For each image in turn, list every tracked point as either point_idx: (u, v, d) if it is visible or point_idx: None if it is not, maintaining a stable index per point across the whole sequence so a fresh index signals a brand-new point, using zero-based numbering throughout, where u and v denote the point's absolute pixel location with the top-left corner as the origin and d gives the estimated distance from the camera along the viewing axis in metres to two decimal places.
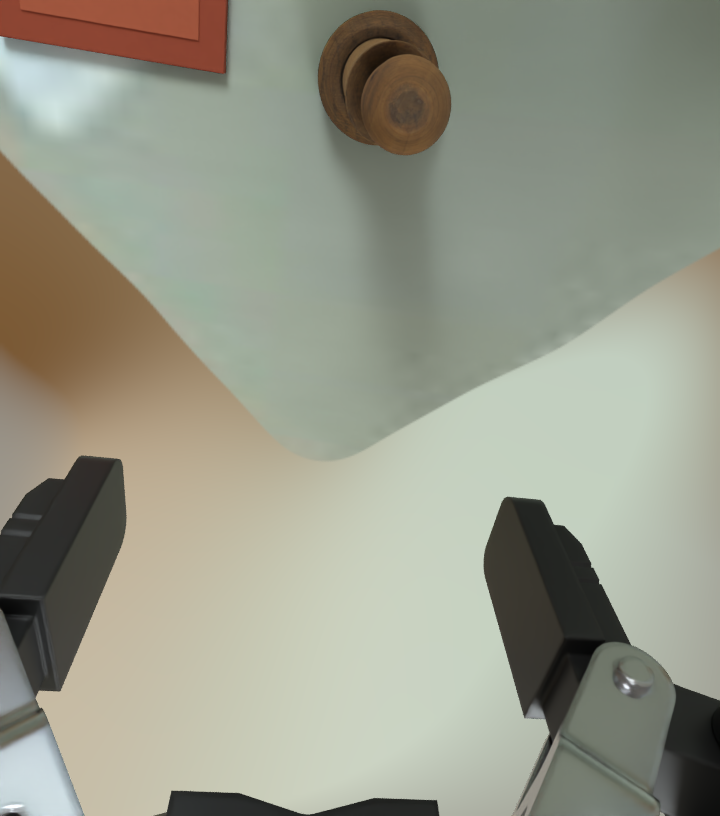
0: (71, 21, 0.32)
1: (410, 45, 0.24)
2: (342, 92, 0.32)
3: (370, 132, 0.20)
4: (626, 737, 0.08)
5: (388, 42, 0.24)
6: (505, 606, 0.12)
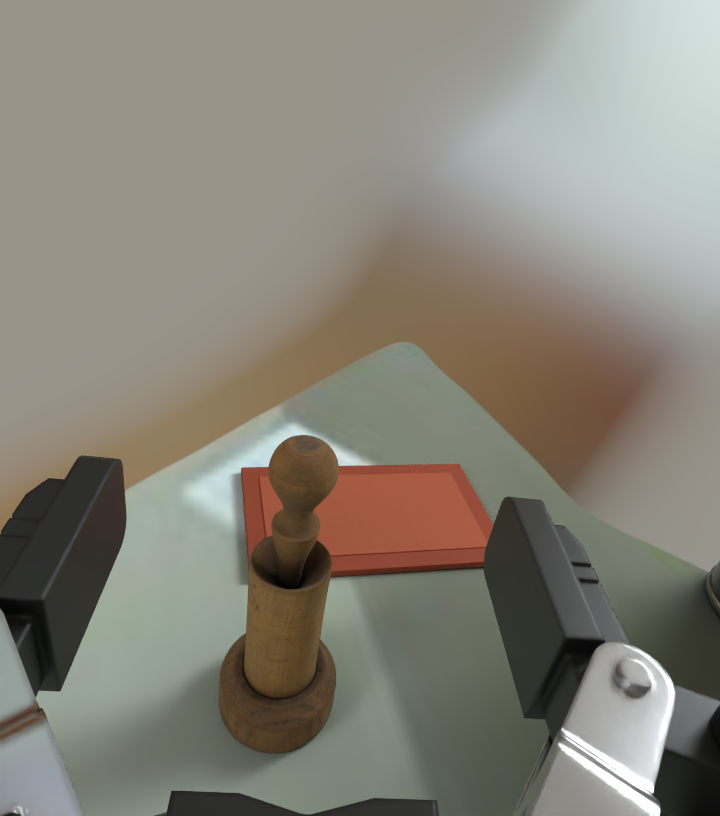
0: (259, 497, 0.48)
1: (331, 563, 0.29)
2: None
3: None
4: (626, 737, 0.08)
5: (326, 550, 0.30)
6: (505, 606, 0.12)
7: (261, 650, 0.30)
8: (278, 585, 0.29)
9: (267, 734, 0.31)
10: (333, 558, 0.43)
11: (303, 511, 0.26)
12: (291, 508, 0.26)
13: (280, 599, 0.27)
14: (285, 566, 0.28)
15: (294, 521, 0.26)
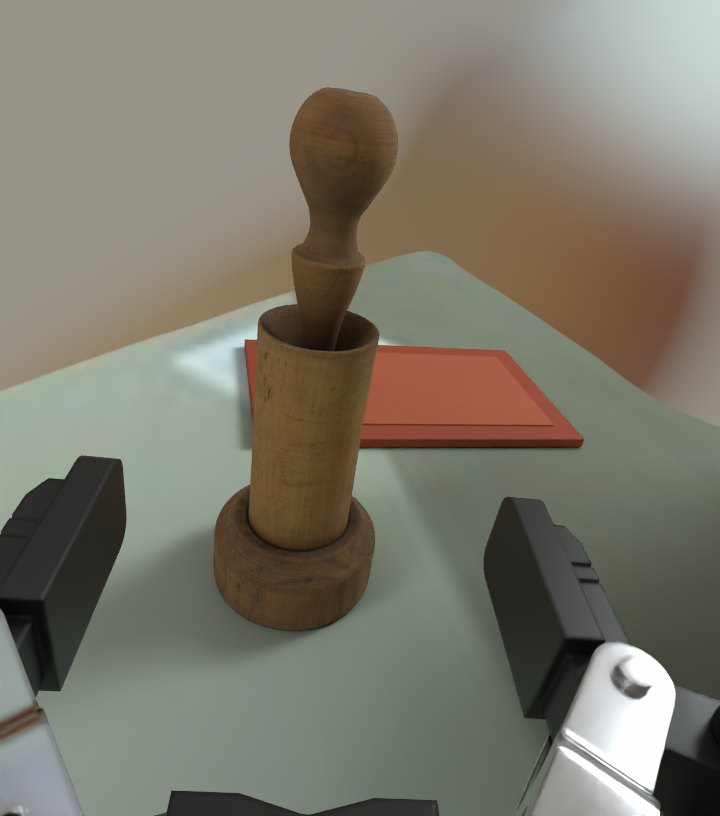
0: None
1: (377, 333, 0.20)
2: None
3: None
4: (627, 738, 0.08)
5: (370, 322, 0.20)
6: (505, 606, 0.12)
7: (273, 469, 0.21)
8: None
9: (282, 597, 0.21)
10: None
11: (343, 210, 0.17)
12: (324, 204, 0.17)
13: (304, 367, 0.18)
14: (311, 328, 0.19)
15: (327, 237, 0.17)
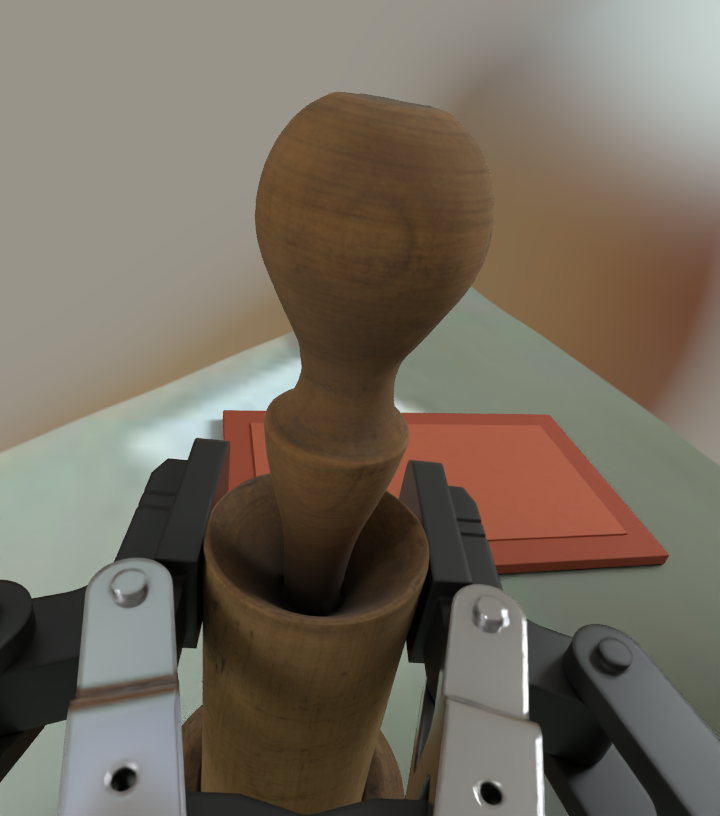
0: (250, 453, 0.30)
1: (426, 545, 0.11)
2: None
3: None
4: (497, 673, 0.09)
5: (409, 512, 0.11)
6: None
7: (234, 771, 0.11)
8: (282, 602, 0.11)
9: None
10: None
11: (373, 359, 0.08)
12: (330, 345, 0.08)
13: (288, 646, 0.09)
14: (303, 550, 0.10)
15: (337, 402, 0.08)
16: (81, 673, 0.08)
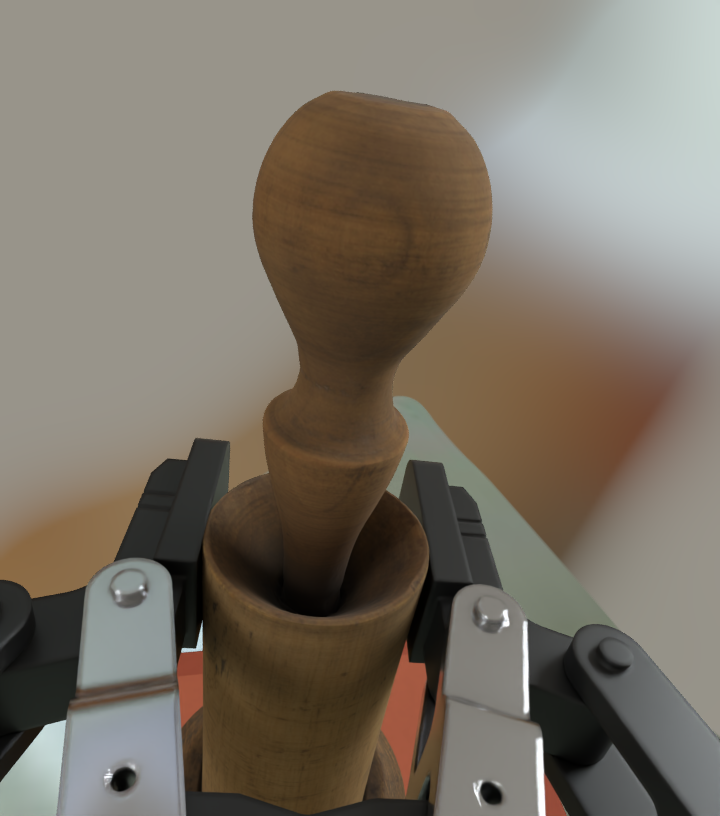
0: None
1: (425, 545, 0.11)
2: None
3: None
4: (498, 673, 0.09)
5: (409, 512, 0.11)
6: None
7: (235, 772, 0.11)
8: (282, 603, 0.11)
9: None
10: None
11: (370, 358, 0.08)
12: (329, 345, 0.08)
13: (287, 647, 0.09)
14: (303, 550, 0.10)
15: (335, 402, 0.08)
16: (80, 673, 0.08)
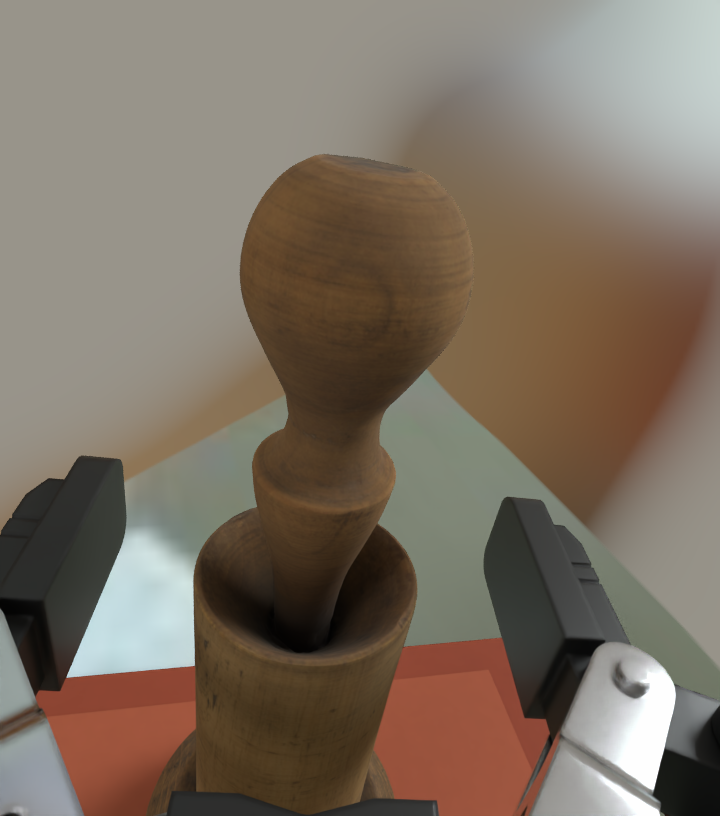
0: None
1: (414, 580, 0.11)
2: None
3: None
4: (627, 737, 0.08)
5: (398, 545, 0.12)
6: (505, 606, 0.12)
7: None
8: (273, 636, 0.11)
9: None
10: None
11: (356, 411, 0.08)
12: (314, 398, 0.08)
13: (277, 686, 0.09)
14: (292, 588, 0.10)
15: (322, 450, 0.08)
16: None
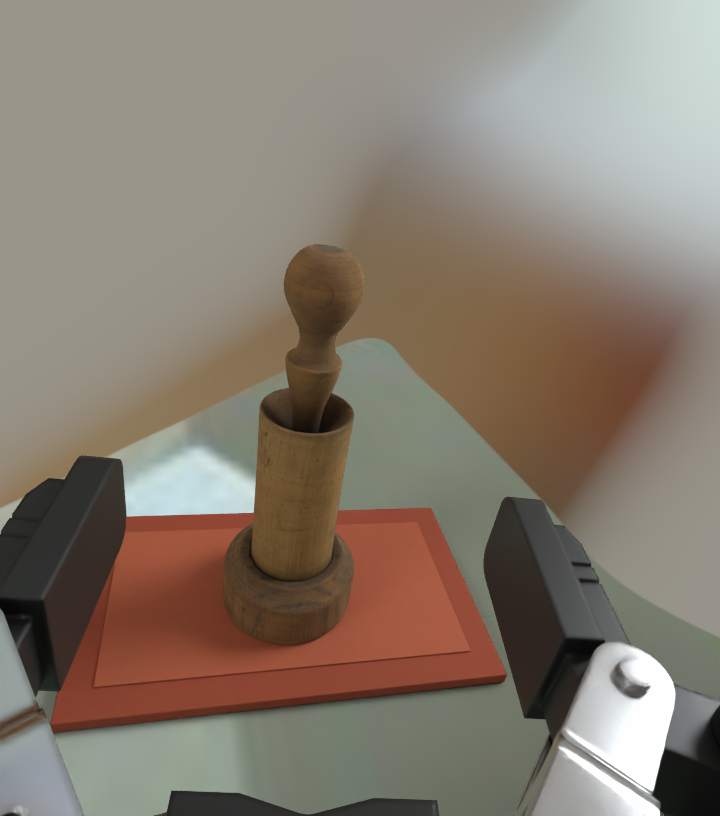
0: None
1: (352, 414, 0.25)
2: None
3: None
4: (626, 737, 0.08)
5: (347, 403, 0.26)
6: (505, 606, 0.12)
7: (271, 518, 0.26)
8: None
9: (278, 618, 0.27)
10: (208, 681, 0.26)
11: (324, 332, 0.22)
12: (309, 328, 0.22)
13: (295, 445, 0.24)
14: (301, 412, 0.25)
15: (312, 350, 0.23)
16: None
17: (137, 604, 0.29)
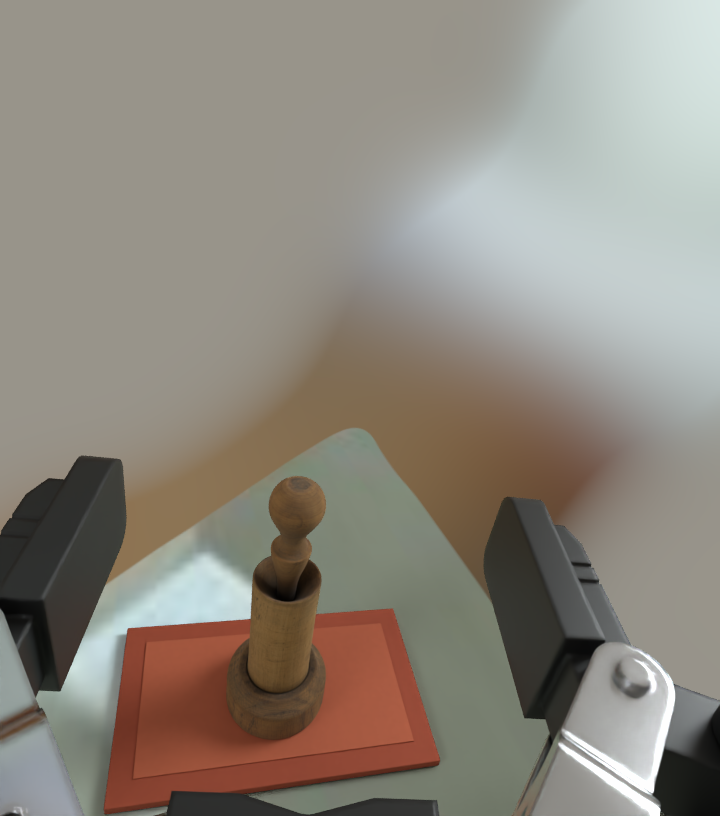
0: (140, 675, 0.40)
1: (320, 580, 0.35)
2: None
3: None
4: (626, 737, 0.08)
5: (317, 569, 0.35)
6: (505, 606, 0.12)
7: (261, 652, 0.36)
8: (276, 598, 0.35)
9: (267, 723, 0.36)
10: (215, 771, 0.36)
11: (297, 538, 0.32)
12: (287, 536, 0.32)
13: (277, 610, 0.33)
14: (282, 582, 0.34)
15: (289, 546, 0.32)
16: None
17: (162, 706, 0.38)
